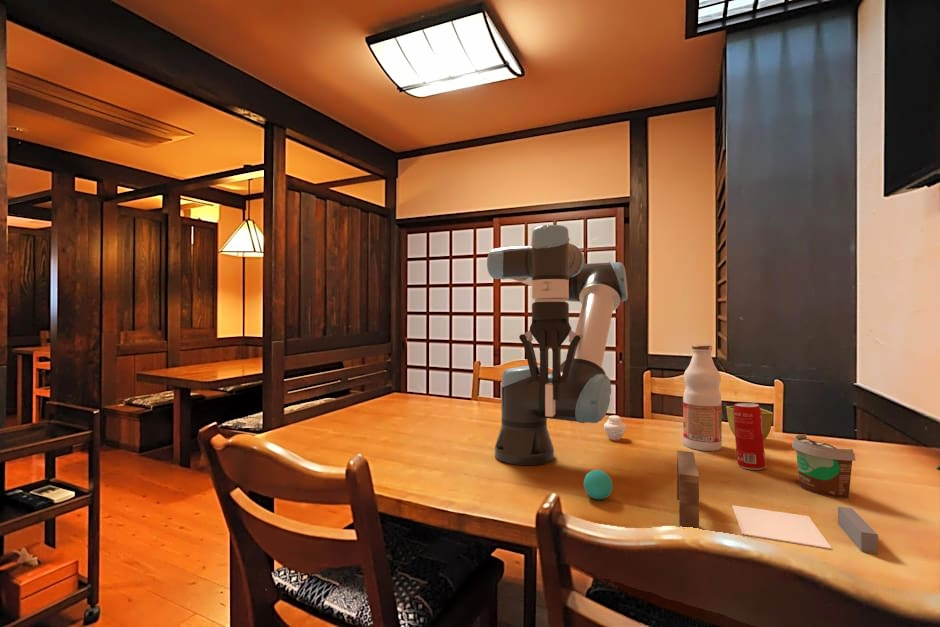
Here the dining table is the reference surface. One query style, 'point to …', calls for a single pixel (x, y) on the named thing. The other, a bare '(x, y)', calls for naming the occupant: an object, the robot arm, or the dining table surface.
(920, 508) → the dining table surface
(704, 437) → the fruit juice
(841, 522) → the wall
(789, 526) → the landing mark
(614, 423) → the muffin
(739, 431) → the beverage can
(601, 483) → the ball
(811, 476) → the food container
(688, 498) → the grey brown rectangular block
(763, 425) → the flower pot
